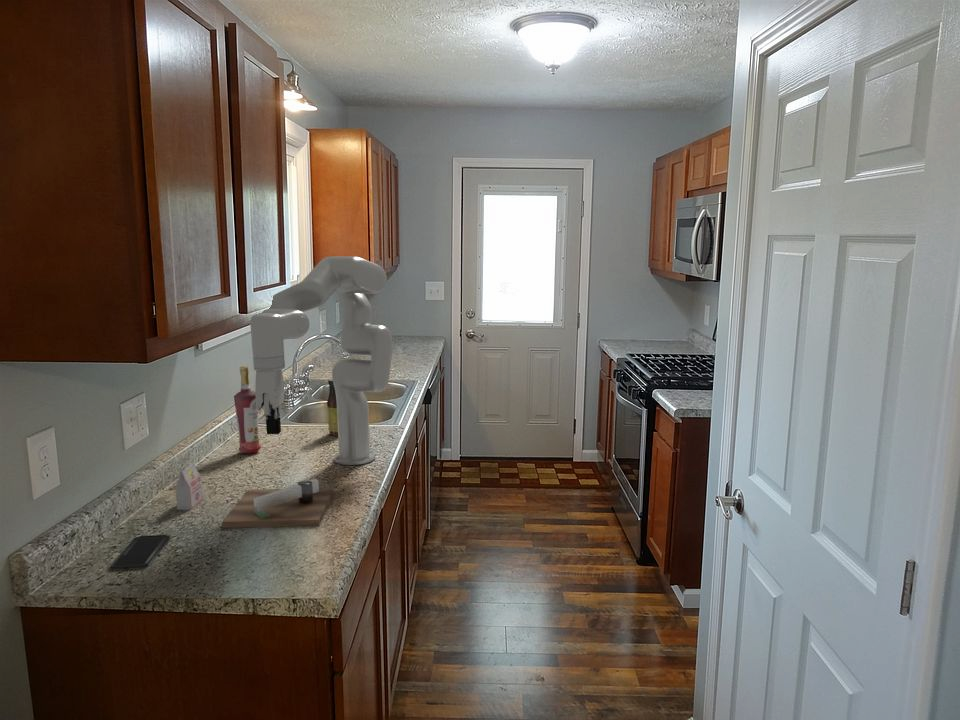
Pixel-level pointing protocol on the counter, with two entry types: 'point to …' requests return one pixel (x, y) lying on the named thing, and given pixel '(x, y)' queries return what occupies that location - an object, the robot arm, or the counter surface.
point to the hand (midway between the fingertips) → (274, 433)
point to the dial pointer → (287, 495)
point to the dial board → (278, 511)
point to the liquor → (247, 415)
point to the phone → (140, 552)
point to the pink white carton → (189, 489)
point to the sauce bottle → (332, 409)
